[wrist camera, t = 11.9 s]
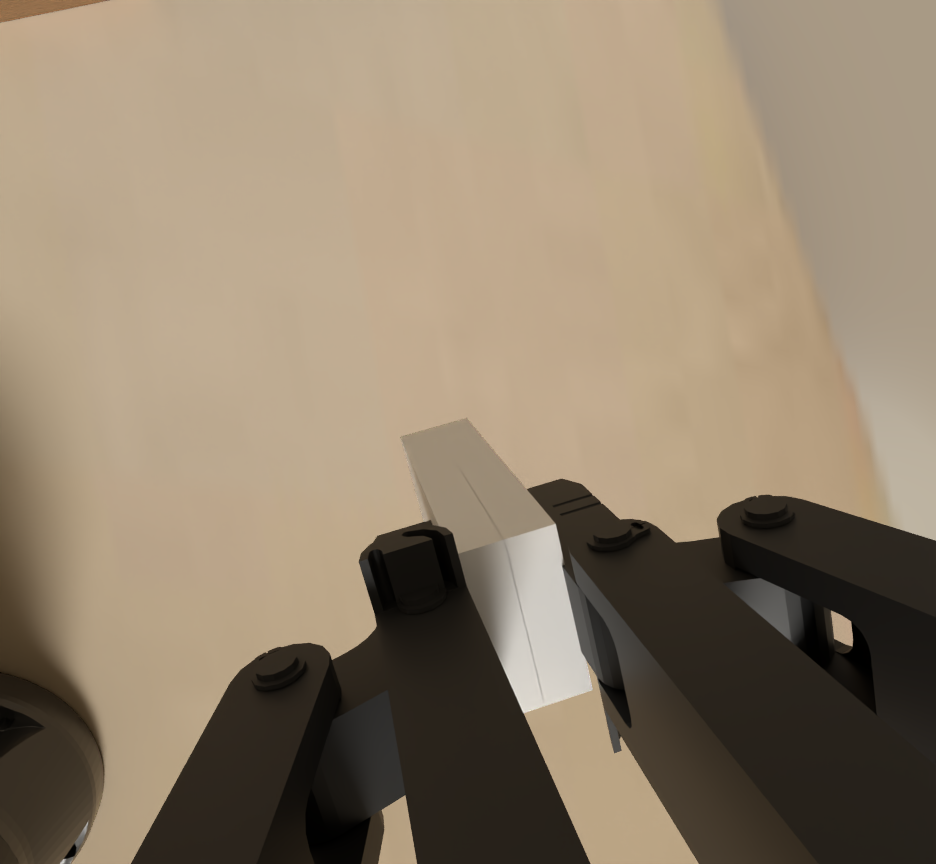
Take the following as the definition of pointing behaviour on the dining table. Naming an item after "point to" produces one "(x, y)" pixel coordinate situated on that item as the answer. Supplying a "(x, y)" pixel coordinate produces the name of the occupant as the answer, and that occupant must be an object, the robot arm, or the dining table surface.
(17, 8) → the valve stub
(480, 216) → the dining table surface
